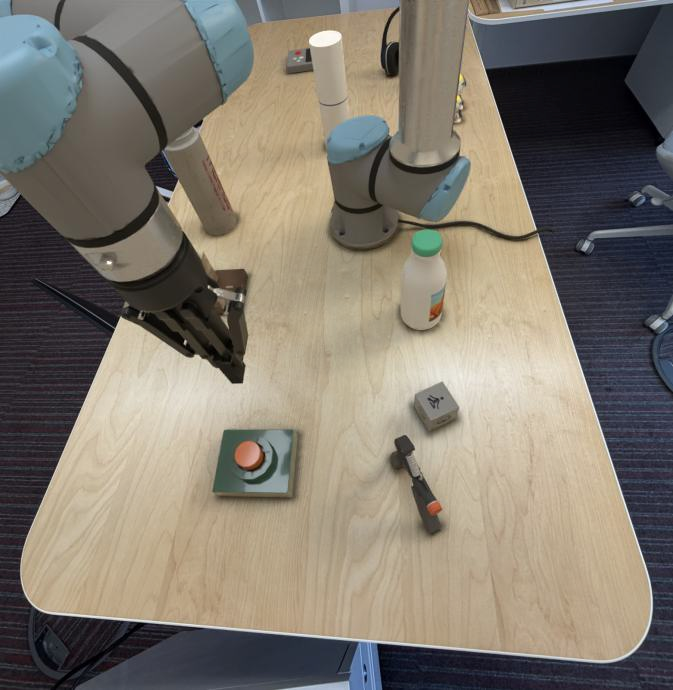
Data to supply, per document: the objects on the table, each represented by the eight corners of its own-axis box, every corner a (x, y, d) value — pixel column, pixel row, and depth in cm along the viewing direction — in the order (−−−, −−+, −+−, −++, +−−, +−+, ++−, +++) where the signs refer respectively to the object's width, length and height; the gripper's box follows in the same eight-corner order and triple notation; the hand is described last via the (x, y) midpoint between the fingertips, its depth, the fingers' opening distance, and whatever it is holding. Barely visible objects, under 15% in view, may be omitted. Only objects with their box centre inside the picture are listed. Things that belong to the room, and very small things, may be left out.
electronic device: (287, 49, 136) (332, 43, 135) (289, 58, 138) (333, 51, 137) (286, 65, 131) (333, 59, 129) (288, 74, 133) (334, 67, 131)
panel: (247, 276, 90) (243, 267, 88) (240, 313, 85) (236, 305, 83) (191, 278, 92) (186, 271, 89) (181, 315, 87) (175, 308, 84)
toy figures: (461, 125, 108) (466, 92, 101) (444, 125, 109) (447, 92, 102) (463, 99, 114) (468, 66, 107) (447, 99, 115) (450, 67, 107)
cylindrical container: (321, 151, 110) (303, 46, 88) (331, 135, 113) (316, 29, 91) (346, 155, 107) (334, 47, 86) (356, 138, 111) (346, 31, 89)
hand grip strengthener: (428, 537, 59) (437, 522, 47) (388, 459, 66) (386, 427, 53) (442, 530, 60) (455, 513, 47) (401, 452, 66) (402, 419, 53)
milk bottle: (414, 338, 77) (419, 265, 60) (392, 309, 81) (391, 234, 64) (449, 319, 78) (464, 243, 61) (426, 292, 82) (433, 213, 65)
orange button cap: (265, 444, 65) (261, 440, 63) (262, 470, 63) (258, 467, 61) (241, 444, 65) (236, 440, 64) (236, 470, 63) (232, 466, 62)
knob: (207, 278, 88) (191, 250, 81) (218, 277, 87) (202, 250, 80) (202, 298, 85) (184, 272, 78) (213, 298, 85) (196, 271, 78)
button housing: (297, 435, 70) (291, 425, 66) (292, 497, 65) (284, 490, 60) (230, 435, 71) (219, 425, 67) (219, 495, 66) (207, 489, 62)
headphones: (448, 78, 120) (456, 1, 104) (437, 90, 118) (443, 13, 102) (390, 65, 128) (389, -8, 112) (378, 76, 125) (375, 3, 110)
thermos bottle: (240, 213, 101) (192, 96, 77) (230, 236, 97) (176, 121, 73) (211, 211, 103) (155, 97, 79) (200, 234, 99) (137, 121, 75)
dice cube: (413, 406, 70) (414, 394, 66) (439, 394, 70) (442, 381, 66) (428, 431, 67) (430, 420, 63) (455, 418, 68) (459, 407, 64)
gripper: (55, 291, 33) (186, 401, 53) (208, 282, 31) (284, 399, 52) (86, 224, 37) (198, 351, 57) (224, 212, 35) (289, 347, 55)
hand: (238, 374), depth 54 cm, fingers closed
